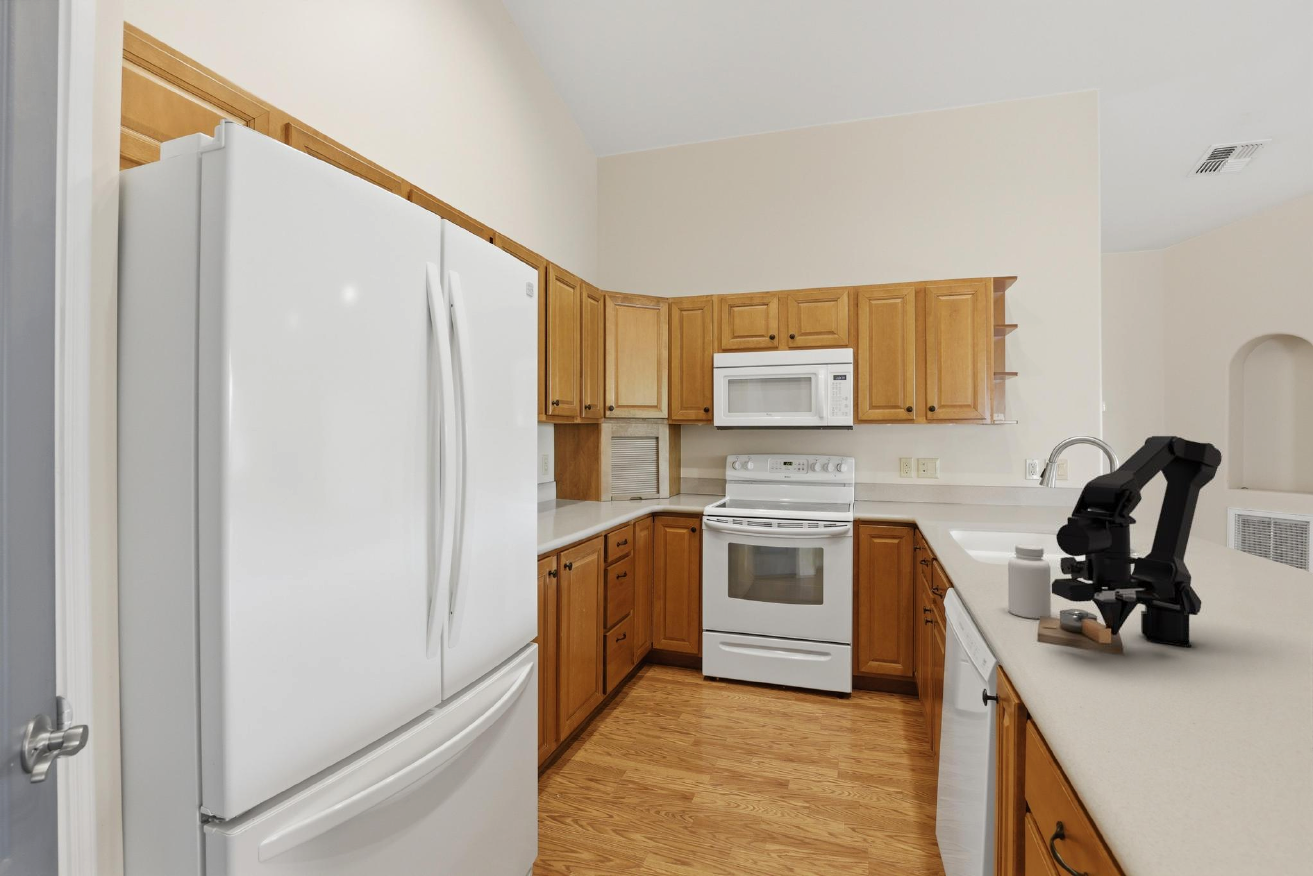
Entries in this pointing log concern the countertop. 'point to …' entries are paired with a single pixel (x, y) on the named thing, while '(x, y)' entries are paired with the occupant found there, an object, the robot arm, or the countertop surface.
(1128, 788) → the countertop surface
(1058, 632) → the base plate
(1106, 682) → the countertop surface
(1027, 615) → the pill bottle
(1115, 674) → the countertop surface
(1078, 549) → the robot arm
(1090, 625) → the metal and wood piece
